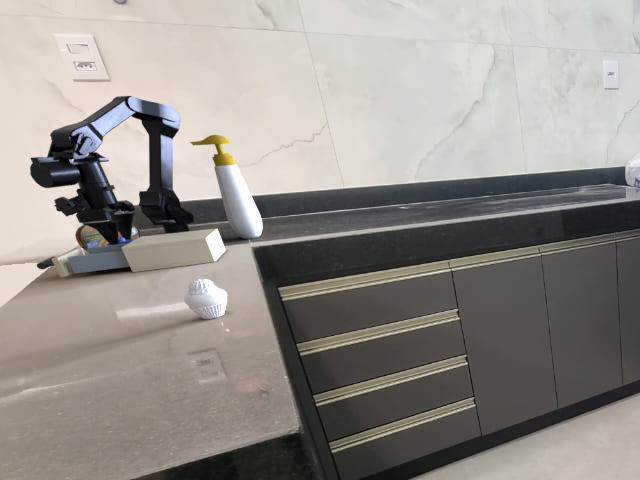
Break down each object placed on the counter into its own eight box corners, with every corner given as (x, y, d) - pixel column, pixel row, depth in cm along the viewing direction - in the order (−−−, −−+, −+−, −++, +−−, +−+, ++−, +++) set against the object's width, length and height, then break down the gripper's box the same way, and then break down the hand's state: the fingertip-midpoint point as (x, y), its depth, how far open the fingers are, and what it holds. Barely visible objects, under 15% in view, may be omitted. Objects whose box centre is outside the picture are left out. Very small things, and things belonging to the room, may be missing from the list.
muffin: (184, 323, 93) (167, 285, 90) (204, 311, 98) (189, 275, 95) (223, 320, 93) (207, 282, 90) (240, 308, 99) (226, 272, 96)
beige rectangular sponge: (132, 272, 128) (120, 247, 125) (151, 259, 140) (140, 236, 137) (215, 261, 134) (205, 237, 132) (225, 250, 146) (217, 228, 144)
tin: (91, 256, 146) (75, 226, 142) (82, 256, 147) (66, 226, 143) (146, 244, 159) (133, 215, 156) (138, 244, 160) (125, 215, 156)
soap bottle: (225, 237, 164) (187, 136, 151) (264, 232, 169) (230, 133, 157) (228, 244, 154) (187, 136, 142) (269, 237, 160) (233, 133, 147)
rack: (35, 280, 121) (25, 261, 119) (61, 267, 132) (52, 250, 130) (144, 266, 129) (136, 249, 127) (160, 255, 140) (152, 239, 138)
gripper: (67, 182, 137) (96, 241, 144) (32, 189, 122) (66, 256, 129) (122, 178, 142) (147, 236, 148) (94, 185, 126) (124, 249, 133)
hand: (122, 244), depth 140 cm, fingers open, 9 cm apart
